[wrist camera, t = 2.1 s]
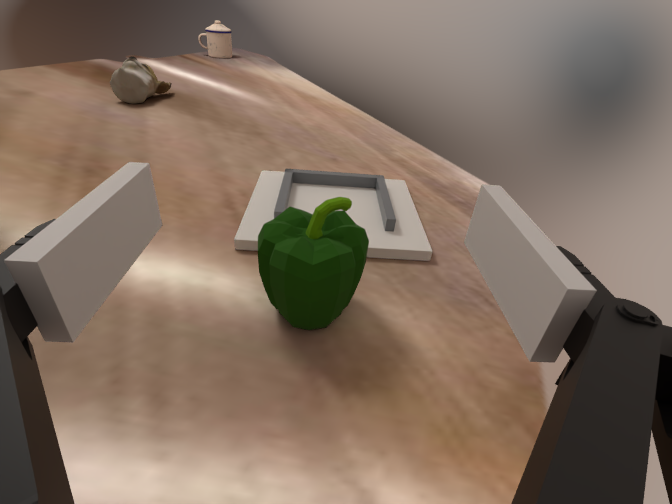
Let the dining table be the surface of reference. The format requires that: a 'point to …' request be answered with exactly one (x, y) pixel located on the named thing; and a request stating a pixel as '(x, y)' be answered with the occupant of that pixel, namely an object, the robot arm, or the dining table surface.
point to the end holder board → (366, 210)
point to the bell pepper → (312, 262)
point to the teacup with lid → (218, 41)
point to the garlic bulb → (136, 82)
